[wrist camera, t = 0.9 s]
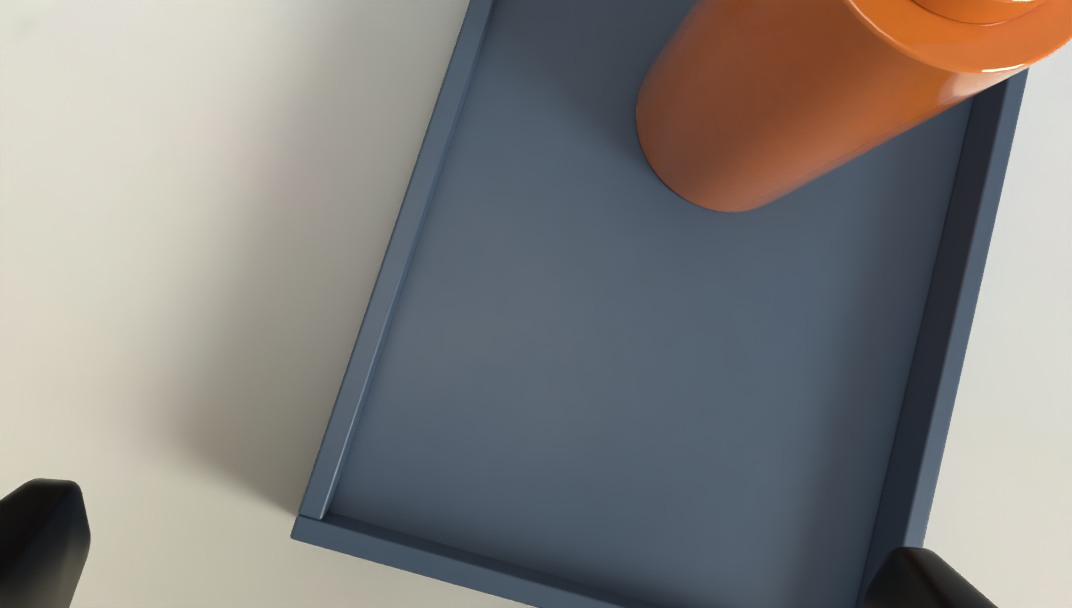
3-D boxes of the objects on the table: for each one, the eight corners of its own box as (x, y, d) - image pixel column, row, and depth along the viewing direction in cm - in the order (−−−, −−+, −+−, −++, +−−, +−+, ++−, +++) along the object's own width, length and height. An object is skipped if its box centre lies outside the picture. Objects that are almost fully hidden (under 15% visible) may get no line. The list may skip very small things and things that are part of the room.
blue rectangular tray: (842, 673, 23) (888, 705, 21) (303, 522, 21) (288, 538, 19) (992, 25, 26) (1046, -9, 23) (529, -152, 24) (539, -208, 22)
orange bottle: (828, 202, 23) (1314, -18, 11) (650, 222, 23) (943, 11, 10) (797, 24, 24) (1226, -394, 11) (621, 37, 23) (865, -398, 10)
